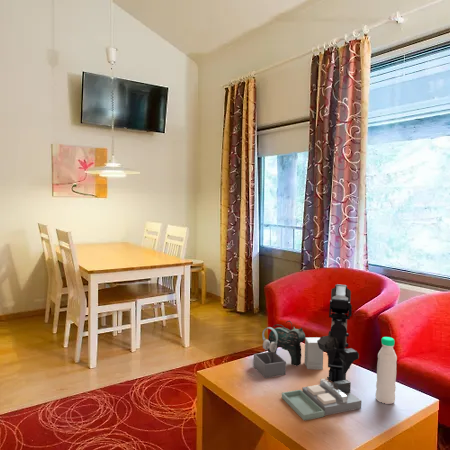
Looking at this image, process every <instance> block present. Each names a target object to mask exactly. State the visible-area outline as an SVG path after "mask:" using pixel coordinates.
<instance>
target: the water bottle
mask: <svg viewBox="0 0 450 450" xmlns="http://www.w3.org/2000/svg"><path fill="white" fill-rule="evenodd" d="M380 341H381V348H380V350H379V351H378V353H377V364H376V385H375V387H376V391H375V399H376V400H377V401H378V402H380V403H381V402H382V403H381V404H384V403H385V404H386V405H391V404H392V405H393V404H394V403H395V401H396V389H397V387H396V381H397V362H398V361H397V360H398V356H397V354H396V351H395V349H394V347H395V342H396V341H395V338H393V337H391V336H382V338H381V340H380Z"/></svg>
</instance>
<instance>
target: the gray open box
mask: <svg viewBox="0 0 450 450" xmlns="http://www.w3.org/2000/svg"><path fill="white" fill-rule="evenodd" d="M266 353H267V354H268V355H267V354H266ZM268 356H269V357H270V358H269V357H268ZM270 360H271V362H270ZM269 363H270V364H269ZM253 368H254V369H255V370H256V371H257V372H258V374H260V375H261V376H262V377H263V378H264V379H268V378H272V377H273V378H274V377H279V376H280V377H281V376H286V373H287V371H286V368H287V362H286V360H284V359H283V358H282V357H281V356H280V355H278V354H277V352H276V353H275V352H268V351H266V352H261V353H253Z"/></svg>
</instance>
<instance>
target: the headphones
mask: <svg viewBox="0 0 450 450" xmlns="http://www.w3.org/2000/svg"><path fill="white" fill-rule="evenodd" d="M266 330H271V331H273V332H274V334H275V336H276V342H271V344H270V341H269V340H268V339H267V338H266V337H265V332H266ZM261 336H262V341H263V343H262V348H263V349H264V350H265V352H264V353H266V352H267V351H268V349H270V351H271V352H275V351H276V349H277V350H278V348H277V341H278V334H277V332H276V331H275V328H274V327H273V328H272V327H271V326H268V327H266V328H264V329H263V330H262V333H261ZM276 352H277V351H276ZM266 354H267V353H266ZM267 355H268V354H267ZM268 357H269V356H268ZM269 358H270V357H269ZM270 362H271V360H270ZM269 364H270V363H269Z"/></svg>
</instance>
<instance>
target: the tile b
mask: <svg viewBox="0 0 450 450" xmlns="http://www.w3.org/2000/svg"><path fill="white" fill-rule="evenodd" d="M317 398H318V399H319V400H320V401H321V402H322V403H323V404H330V403H335V402H336V399H335V398H334V397H333V396H331V395H330V394H329V393H325V394H319V395H317Z"/></svg>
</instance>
